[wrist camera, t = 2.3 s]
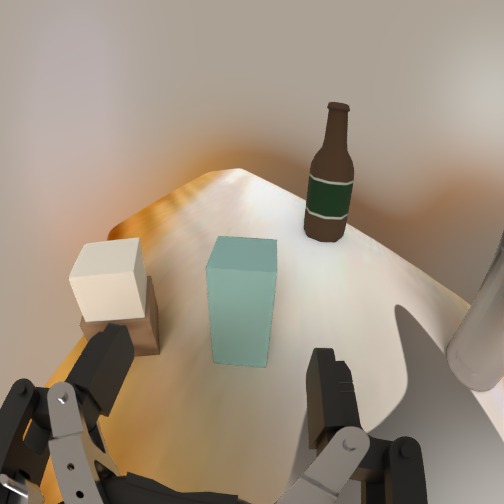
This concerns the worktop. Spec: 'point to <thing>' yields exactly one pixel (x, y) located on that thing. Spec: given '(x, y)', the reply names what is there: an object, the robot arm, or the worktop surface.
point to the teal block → (241, 299)
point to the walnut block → (134, 326)
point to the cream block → (110, 280)
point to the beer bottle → (330, 180)
